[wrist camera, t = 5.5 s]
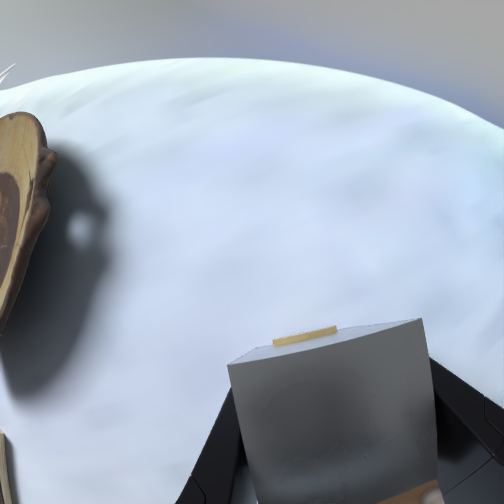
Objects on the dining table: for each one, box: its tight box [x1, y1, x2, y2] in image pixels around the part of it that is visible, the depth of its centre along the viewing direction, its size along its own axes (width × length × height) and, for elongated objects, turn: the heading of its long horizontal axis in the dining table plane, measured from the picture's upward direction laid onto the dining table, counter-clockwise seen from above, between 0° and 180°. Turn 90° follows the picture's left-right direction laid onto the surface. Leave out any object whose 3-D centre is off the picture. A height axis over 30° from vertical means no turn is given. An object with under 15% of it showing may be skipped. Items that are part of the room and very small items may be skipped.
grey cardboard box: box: [227, 318, 437, 504], centre depth 10 cm, size 6×5×9 cm
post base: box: [375, 479, 445, 504], centre depth 10 cm, size 8×8×4 cm
